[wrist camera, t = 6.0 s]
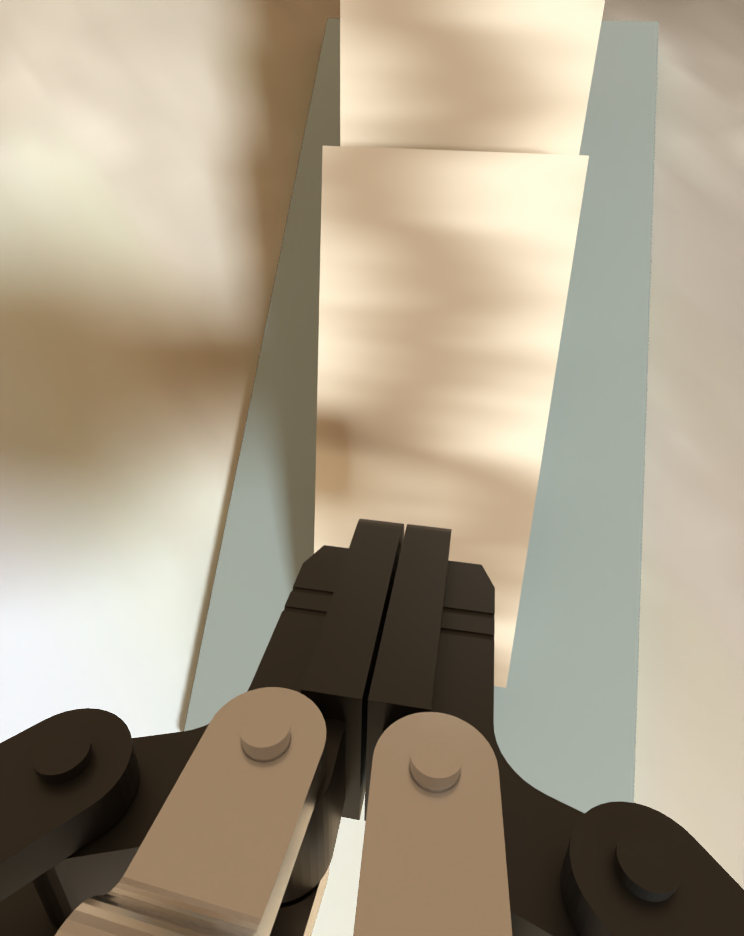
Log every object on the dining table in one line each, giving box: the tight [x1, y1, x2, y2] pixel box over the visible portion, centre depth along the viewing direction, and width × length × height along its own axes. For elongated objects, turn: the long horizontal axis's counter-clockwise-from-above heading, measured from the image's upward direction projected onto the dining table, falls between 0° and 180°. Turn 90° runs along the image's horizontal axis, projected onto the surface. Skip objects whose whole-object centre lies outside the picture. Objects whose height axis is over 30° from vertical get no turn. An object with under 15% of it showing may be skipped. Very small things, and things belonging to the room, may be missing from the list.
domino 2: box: [314, 146, 589, 688], centre depth 15 cm, size 5×2×12 cm
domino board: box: [184, 18, 659, 813], centre depth 20 cm, size 12×26×1 cm, turn 172°
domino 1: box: [340, 0, 605, 155], centre depth 15 cm, size 5×2×12 cm
